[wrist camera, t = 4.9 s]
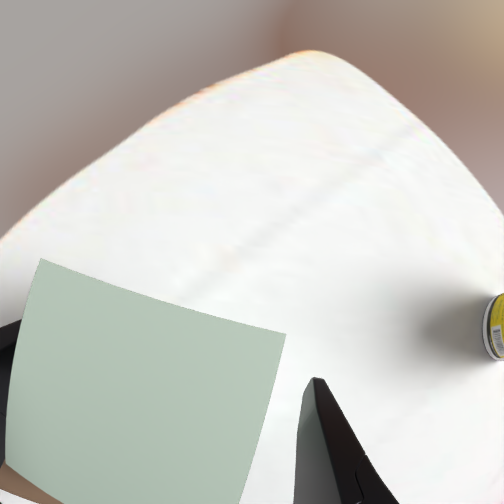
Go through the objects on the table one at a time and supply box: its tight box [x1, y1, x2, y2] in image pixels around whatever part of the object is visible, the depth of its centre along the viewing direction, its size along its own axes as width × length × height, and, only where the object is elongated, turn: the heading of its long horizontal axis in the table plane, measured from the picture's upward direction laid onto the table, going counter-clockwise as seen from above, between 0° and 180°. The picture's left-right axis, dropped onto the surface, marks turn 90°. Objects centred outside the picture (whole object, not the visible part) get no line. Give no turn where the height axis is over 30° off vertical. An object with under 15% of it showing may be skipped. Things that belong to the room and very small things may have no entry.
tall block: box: [5, 258, 286, 504], centre depth 10 cm, size 5×5×12 cm
